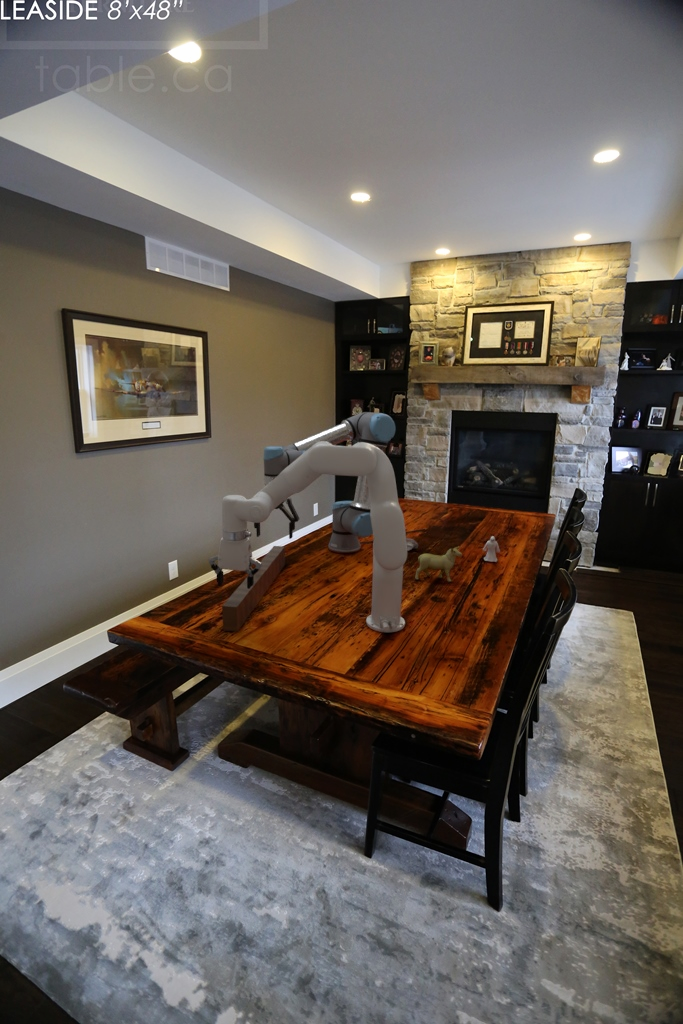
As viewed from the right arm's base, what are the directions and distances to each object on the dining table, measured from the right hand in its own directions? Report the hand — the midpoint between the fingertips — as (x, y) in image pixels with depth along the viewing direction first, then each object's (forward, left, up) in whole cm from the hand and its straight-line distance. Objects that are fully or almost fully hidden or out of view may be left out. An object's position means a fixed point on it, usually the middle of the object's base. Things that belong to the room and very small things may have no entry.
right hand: (235, 585), depth 160 cm
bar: (+22, -5, -12) cm, 26 cm away
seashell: (+71, -73, -12) cm, 103 cm away
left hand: (+45, -10, +3) cm, 46 cm away
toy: (+32, -76, -12) cm, 83 cm away
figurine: (+55, -106, -12) cm, 120 cm away
